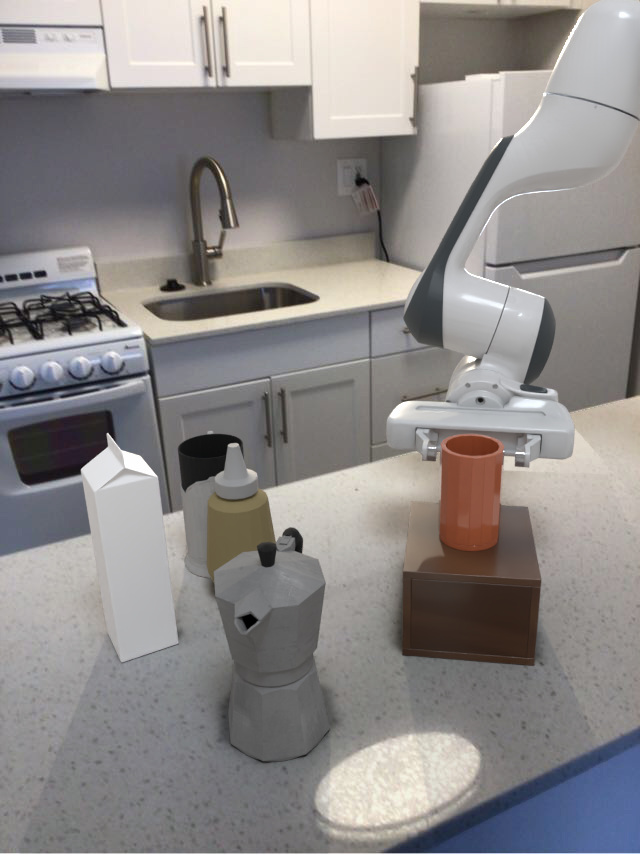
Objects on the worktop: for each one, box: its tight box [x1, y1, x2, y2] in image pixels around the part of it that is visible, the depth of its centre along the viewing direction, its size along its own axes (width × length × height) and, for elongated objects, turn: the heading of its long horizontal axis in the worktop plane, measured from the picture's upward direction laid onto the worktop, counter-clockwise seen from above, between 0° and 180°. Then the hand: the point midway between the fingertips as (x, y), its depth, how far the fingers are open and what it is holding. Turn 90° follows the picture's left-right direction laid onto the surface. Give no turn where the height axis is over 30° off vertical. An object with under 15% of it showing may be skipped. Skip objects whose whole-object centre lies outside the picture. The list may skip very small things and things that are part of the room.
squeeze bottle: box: [207, 443, 277, 584], centre depth 83 cm, size 8×8×18 cm
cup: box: [438, 434, 505, 551], centre depth 75 cm, size 6×6×10 cm
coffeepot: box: [213, 527, 331, 762], centre depth 64 cm, size 15×9×18 cm, turn 167°
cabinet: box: [401, 500, 542, 667], centre depth 78 cm, size 15×13×10 cm
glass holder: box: [177, 430, 245, 579], centre depth 92 cm, size 9×14×15 cm, turn 9°
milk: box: [80, 432, 179, 663], centre depth 74 cm, size 6×6×22 cm
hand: (475, 457), depth 78 cm, fingers open, 8 cm apart
